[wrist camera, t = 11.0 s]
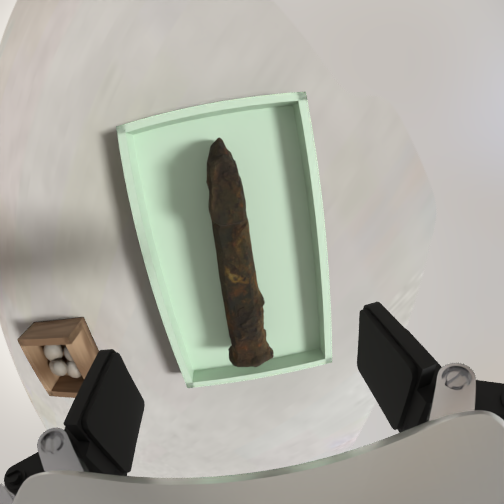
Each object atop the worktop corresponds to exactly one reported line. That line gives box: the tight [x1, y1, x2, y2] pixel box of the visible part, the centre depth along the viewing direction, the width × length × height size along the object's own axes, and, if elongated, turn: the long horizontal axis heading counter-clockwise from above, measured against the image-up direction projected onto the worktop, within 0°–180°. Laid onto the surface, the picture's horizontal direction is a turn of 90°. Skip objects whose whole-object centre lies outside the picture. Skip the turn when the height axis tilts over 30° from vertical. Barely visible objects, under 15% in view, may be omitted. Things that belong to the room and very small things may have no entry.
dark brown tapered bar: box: [206, 137, 274, 367], centre depth 22 cm, size 19×4×5 cm, turn 5°
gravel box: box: [18, 317, 99, 398], centre depth 25 cm, size 8×8×4 cm
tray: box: [116, 92, 332, 388], centre depth 24 cm, size 25×15×2 cm, turn 9°
